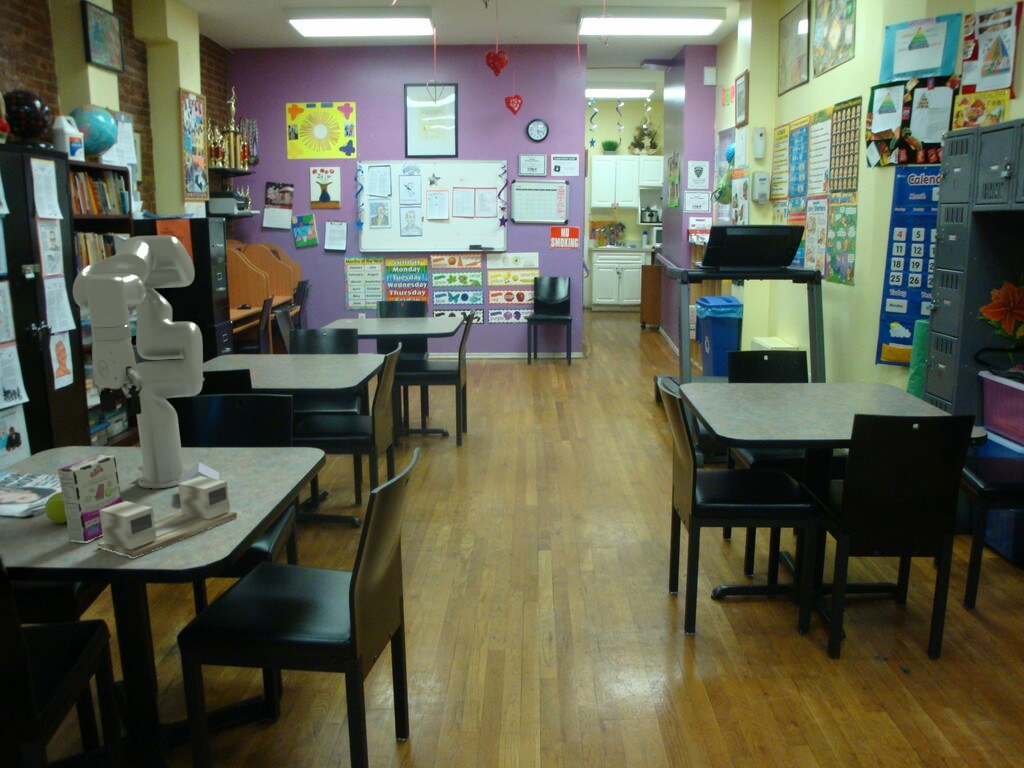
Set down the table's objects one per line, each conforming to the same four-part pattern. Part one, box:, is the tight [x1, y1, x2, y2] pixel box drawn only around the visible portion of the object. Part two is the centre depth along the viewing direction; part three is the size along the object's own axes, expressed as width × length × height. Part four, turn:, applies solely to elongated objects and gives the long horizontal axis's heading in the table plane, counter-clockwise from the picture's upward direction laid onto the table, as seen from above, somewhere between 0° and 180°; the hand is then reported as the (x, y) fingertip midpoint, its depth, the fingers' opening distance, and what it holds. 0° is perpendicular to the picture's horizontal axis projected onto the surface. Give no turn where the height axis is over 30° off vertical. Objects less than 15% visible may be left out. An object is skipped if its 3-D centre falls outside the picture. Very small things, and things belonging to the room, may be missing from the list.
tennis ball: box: [44, 491, 67, 524], centre depth 190 cm, size 7×7×7 cm
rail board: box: [97, 476, 238, 557], centre depth 181 cm, size 12×26×8 cm, turn 148°
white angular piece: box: [181, 462, 220, 482], centre depth 206 cm, size 9×7×13 cm
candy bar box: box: [57, 454, 123, 542], centre depth 181 cm, size 11×5×16 cm, turn 160°
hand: (121, 412), depth 183 cm, fingers open, 9 cm apart
